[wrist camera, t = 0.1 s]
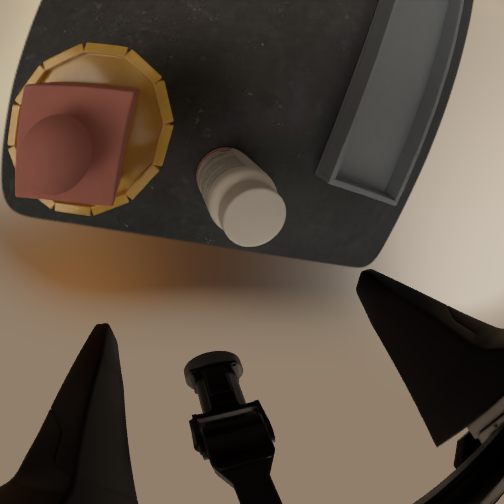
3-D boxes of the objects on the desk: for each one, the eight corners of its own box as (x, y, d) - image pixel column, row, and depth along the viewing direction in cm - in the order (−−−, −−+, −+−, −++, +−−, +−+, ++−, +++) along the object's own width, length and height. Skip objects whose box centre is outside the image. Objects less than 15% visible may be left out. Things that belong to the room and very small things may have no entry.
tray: (382, 197, 31) (395, 206, 29) (314, 174, 26) (327, 183, 24) (453, -24, 14) (467, -24, 12) (401, -74, 10) (415, -77, 8)
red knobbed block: (121, 178, 13) (104, 242, 8) (41, 170, 11) (-12, 228, 6) (140, 89, 11) (127, 94, 6) (53, 81, 9) (-10, 89, 4)
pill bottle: (188, 193, 24) (206, 247, 17) (204, 140, 21) (230, 172, 15) (240, 203, 26) (275, 256, 19) (258, 154, 24) (304, 191, 17)
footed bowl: (149, 168, 21) (148, 225, 14) (55, 154, 18) (5, 204, 10) (179, 70, 18) (196, 61, 10) (78, 53, 14) (28, 40, 6)
